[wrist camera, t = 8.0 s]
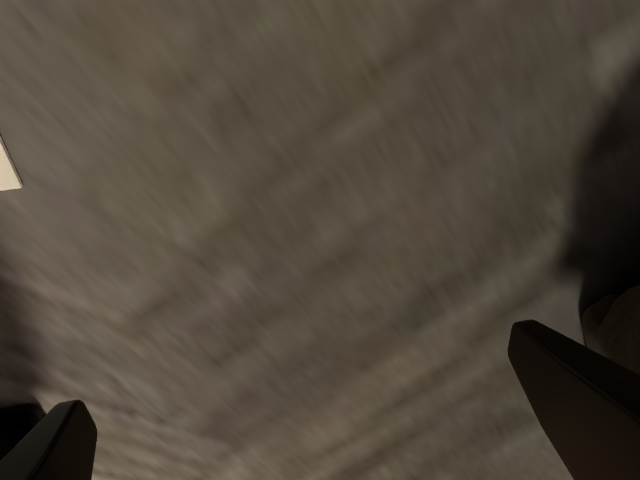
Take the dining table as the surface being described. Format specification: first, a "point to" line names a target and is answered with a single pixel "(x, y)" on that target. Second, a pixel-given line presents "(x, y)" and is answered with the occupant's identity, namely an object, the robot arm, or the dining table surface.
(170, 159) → the dining table surface
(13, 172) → the card
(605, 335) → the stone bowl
